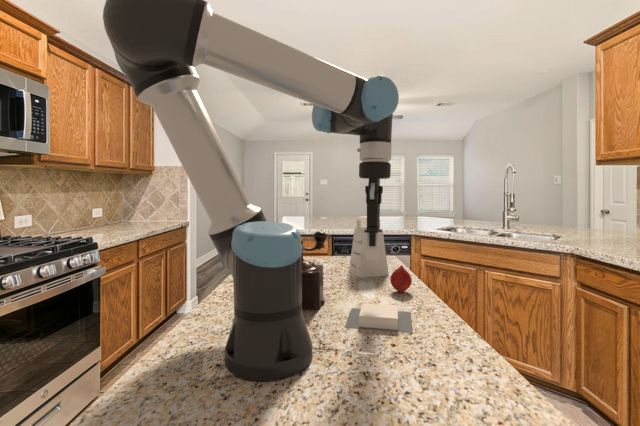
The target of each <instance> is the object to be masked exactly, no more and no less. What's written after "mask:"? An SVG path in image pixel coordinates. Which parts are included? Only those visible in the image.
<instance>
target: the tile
mask: <svg viewBox="0 0 640 426" xmlns="http://www.w3.org/2000/svg"><path fill="white" fill-rule="evenodd" d="M398 308H399V306H398V305H394V304H393V305H392V304H377V303H362V305H361V307H360V309H361V311H360V314H359V327H367V328H380V329H392V330H398V311H399V309H398Z"/></svg>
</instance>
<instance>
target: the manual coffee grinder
mask: <svg viewBox="0 0 640 426" xmlns="http://www.w3.org/2000/svg"><path fill="white" fill-rule="evenodd" d="M312 235H313V236H312V239H313V240H314V241H315V244H314V247H304V241H303V240H301V243H302V311H320V310H321V308H322V307H323V305H324V304H325V300H326V299H325V297H324V265H323V264H315V262H316V260H313V262H312V261H309V260H307V259H306V260H305V259H304V252H313V251H316V250H319V251H320V250H321V249H324V248H325V247H326V246H325V242H326V241H327V238H328V234H327V233H326V232H324V231H321V230H320V231H316V232H314V233H313V234H312Z"/></svg>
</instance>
